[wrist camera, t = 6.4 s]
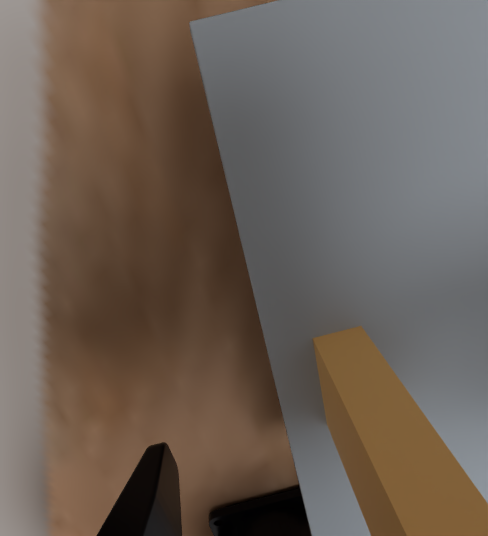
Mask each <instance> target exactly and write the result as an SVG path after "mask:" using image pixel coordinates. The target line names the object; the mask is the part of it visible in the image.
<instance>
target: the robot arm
mask: <svg viewBox="0 0 488 536" xmlns="http://www.w3.org/2000/svg"><path fill="white" fill-rule="evenodd" d="M209 526H210V528H211V530H212V533H213V535H214V536H312V535H311V531H310V527H309V523H308V519H307V514H306V510H305V506H304V502H303V498H302V494H301V489H300V488H299V489H295V490H291V491H287V492H283V493H280V494H276V495H272V496H268V497H264V498H260V499H256V500H253V501H249V502H245V503H241V504H237V505H233V506H229V507H226V508H222V509H218V510H215V511H212V512H211V513H210V514H209ZM97 536H182V525H181V507H180V489H179V473H178V467H177V464H176V462H175V459H174V457H173V455H172V453H171V451H170V449H169V446H168V445H167V444H166V443H165V442H162V443H159V444H155V445H151V446H149V447H148V448H147V449H146V451H145V453H144V454H143V456H142V458H141V460H140V461H139V463H138V465H137V466H136V468H135V470H134V472H133V473H132V475H131V477H130V479H129V480H128V482H127V484H126V486H125V487H124V489H123V491H122V492H121V494H120V496H119V498H118V499H117V501H116V503H115V505H114V506H113V508H112V510H111V512H110V513H109V515H108V517H107V518H106V520H105V522H104V524H103V525H102V527H101V529H100V531H99V532H98V534H97Z"/></svg>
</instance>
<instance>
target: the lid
mask: <svg viewBox="0 0 488 536" xmlns="http://www.w3.org/2000/svg"><path fill="white" fill-rule="evenodd" d="M189 23H190V31H191V36H192V40H193V44H194V48H195V52H196V56H197V61H198V65H199V69H200V73H201V77H202V81H203V86H204V90H205V94H206V98H207V102H208V106H209V111H210V115H211V119H212V123H213V127H214V131H215V136H216V140H217V144H218V148H219V152H220V156H221V161H222V165H223V169H224V173H225V177H226V181H227V185H228V190H229V194H230V198H231V202H232V206H233V210H234V215H235V219H236V223H237V227H238V231H239V235H240V240H241V244H242V248H243V252H244V256H245V260H246V265H247V269H248V273H249V277H250V281H251V285H252V290H253V294H254V298H255V302H256V306H257V310H258V315H259V319H260V323H261V327H262V331H263V335H264V340H265V344H266V348H267V352H268V356H269V360H270V365H271V369H272V373H273V377H274V381H275V385H276V390H277V394H278V398H279V402H280V406H281V410H282V414H283V419H284V423H285V427H286V431H287V435H288V439H289V444H290V448H291V452H292V456H293V460H294V464H295V469H296V473H297V477H298V481H299V485H300V489H301V494H302V498H303V502H304V506H305V510H306V514H307V519H308V523H309V527H310V531H311V535H312V536H488V0H278V1H274V2H270V3H265V4H261V5H257V6H253V7H249V8H245V9H241V10H237V11H232V12H228V13H224V14H220V15H216V16H212V17H208V18H203V19H199V20H195V21H191V22H189Z"/></svg>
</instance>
